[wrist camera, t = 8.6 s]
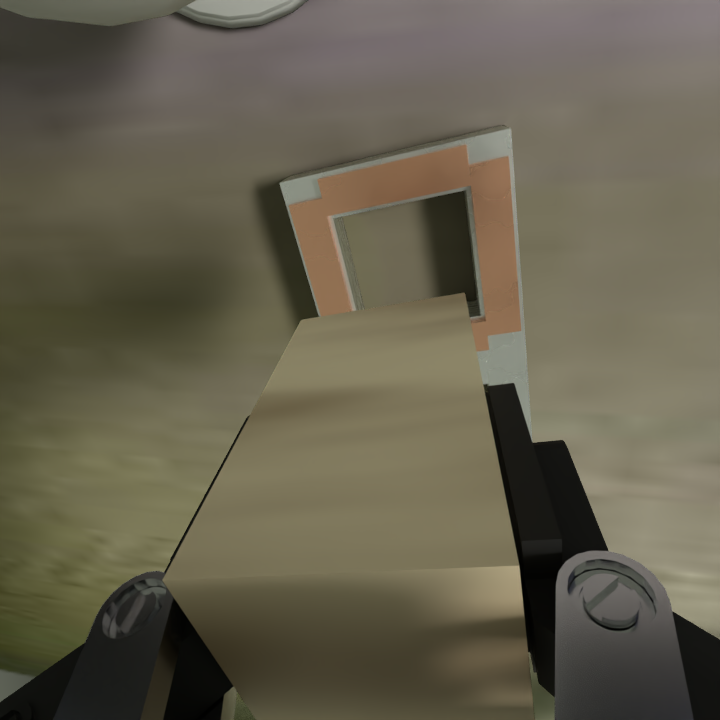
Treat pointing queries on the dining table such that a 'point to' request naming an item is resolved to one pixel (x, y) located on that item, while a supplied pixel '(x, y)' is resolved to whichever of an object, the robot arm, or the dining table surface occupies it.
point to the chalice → (155, 10)
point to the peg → (364, 532)
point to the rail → (411, 183)
